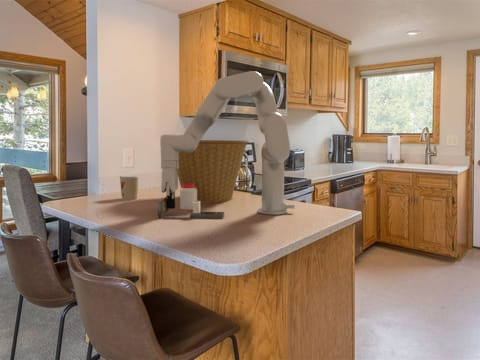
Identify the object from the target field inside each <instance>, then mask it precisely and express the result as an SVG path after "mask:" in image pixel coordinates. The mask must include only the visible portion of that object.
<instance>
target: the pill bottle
mask: <svg viewBox="0 0 480 360" xmlns="http://www.w3.org/2000/svg"><path fill="white" fill-rule="evenodd" d="M194 201H197V189H196V188H195V184H193V183H185V184H182V188H181V187H180V189H179V209H181V210H193V202H194Z"/></svg>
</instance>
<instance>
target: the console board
mask: <svg viewBox="0 0 480 360" xmlns="http://www.w3.org/2000/svg"><path fill="white" fill-rule="evenodd" d="M224 217H225V211H203V210H202V211H201V210H200V213H193V211H192V212H191V214H190V219H219V220H220V219H221V220H222V219H224Z"/></svg>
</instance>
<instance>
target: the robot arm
mask: <svg viewBox="0 0 480 360" xmlns="http://www.w3.org/2000/svg"><path fill="white" fill-rule="evenodd" d="M242 96H249V97H251V98H252V100H253V101H254V104H255V108H256V109H255V110H256V113H257V114H256V115H257V120H258V128H259V130H260V131H259V132H260V133H262V134H263V135H264V141H265V142H264V143H263V144H262V146H261V150H260V152H261V154H260V155H261V207H259V208H258V209H257V212H258V213H259V214H262V215H263V214H264V215H269V216H270V215H272V216H273V215H277V216H278V215H284V214H287V213H288V209H295V203H286V202H285V161H286V160H287V159H288V158H289V157H290V154H291V146H290V139H289V132H288V131H289V130H288V126H287V125H288V124H287V122H286V119H285V117H284V115H282V114H280V113H279V112H278V106H277V103H276V102H277V101H276V98H275V95H274V92H273V90H272V88H271V87H270V86H269V85H268V84H267V83H266V82H265V81H264V76H263V75H262V74H261V73H259V72H258V71H255V70H252V71H251V70H249V71H245V72H241V73H237V74H233V75H229V76H223V77H221V78H218V79H217V81H216V82H215V83H214V85H213V86H212V88H211V90H210V91H209V93H208V94H207V96H206V97H205V98H204V100H203V102H202V103H201V104H200V106H199V107H198V109H197V111H196V112H195V115H194V117H193V119H192V121H191V123H189V125H188V127H187V129H185V131H184V133H183V134H178V135H177V134H162V135H161V136H160V169H162V171H161V193H165V197H167V209H169V210H174V209H175V208H176V191H178V189H179V178H178V172H177V168H179V152H187V153H190V152H193V151H195V150H196V148H197V146H198V143H199V142H200V140H202V139H203V137H204V135H205V134H207V131H208V130H209V129H210V128H211V127H212V126H213V125H214V124H215V122H216V121H217V120H218V118H219V117H220V115H221V113H223V111H224V109H225V107H226V106H227V105H228V103H229V101H230V99H233V98H238V97H242Z"/></svg>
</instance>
